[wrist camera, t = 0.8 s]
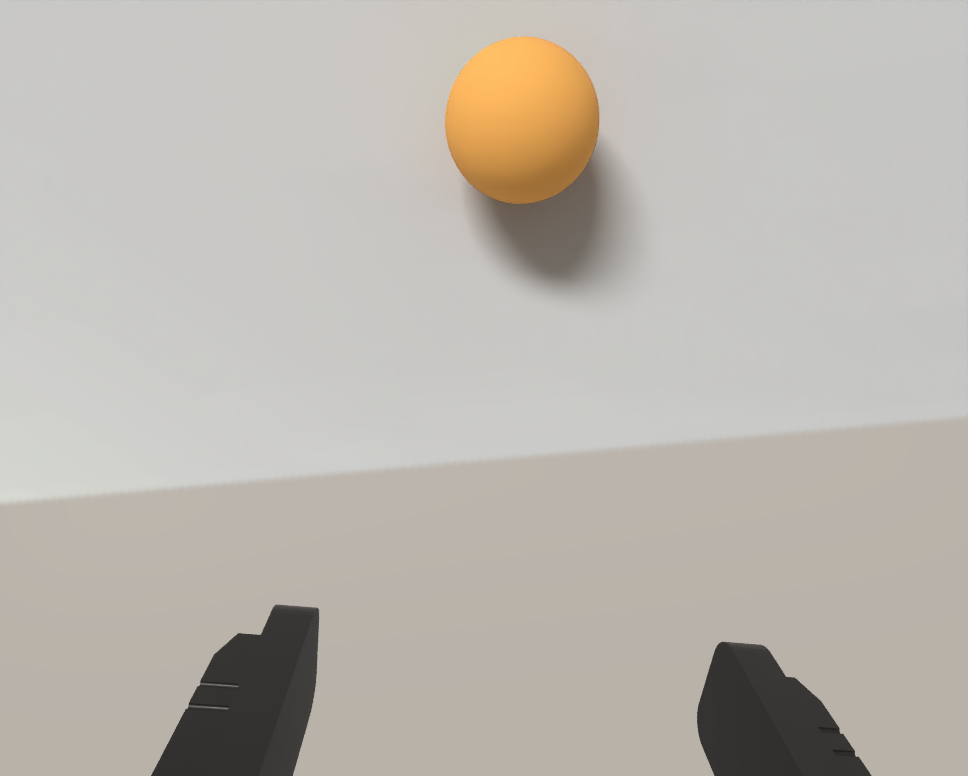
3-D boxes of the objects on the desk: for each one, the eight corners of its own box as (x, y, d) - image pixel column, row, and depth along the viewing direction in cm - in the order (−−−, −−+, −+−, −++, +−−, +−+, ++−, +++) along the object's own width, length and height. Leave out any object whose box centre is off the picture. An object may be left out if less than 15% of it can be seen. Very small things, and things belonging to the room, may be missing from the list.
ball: (595, 63, 24) (630, 33, 19) (571, 208, 26) (598, 217, 21) (455, 43, 24) (452, 6, 19) (440, 191, 26) (434, 196, 21)
